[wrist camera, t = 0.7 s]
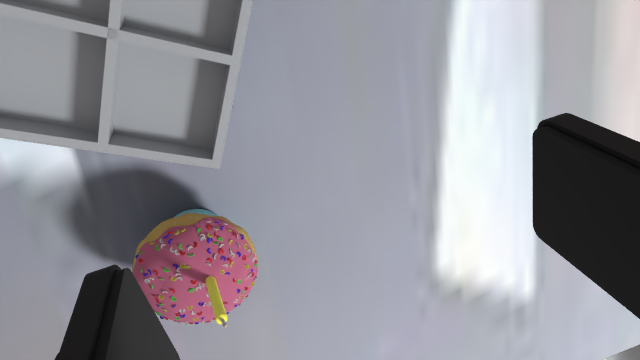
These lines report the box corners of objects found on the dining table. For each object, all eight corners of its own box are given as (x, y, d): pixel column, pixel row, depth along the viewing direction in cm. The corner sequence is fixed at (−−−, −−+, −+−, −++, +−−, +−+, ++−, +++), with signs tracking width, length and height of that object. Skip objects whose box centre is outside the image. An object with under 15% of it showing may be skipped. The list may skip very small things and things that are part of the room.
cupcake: (192, 165, 33) (193, 260, 23) (272, 229, 37) (304, 334, 27) (114, 243, 34) (81, 368, 24) (200, 297, 38) (204, 423, 28)
